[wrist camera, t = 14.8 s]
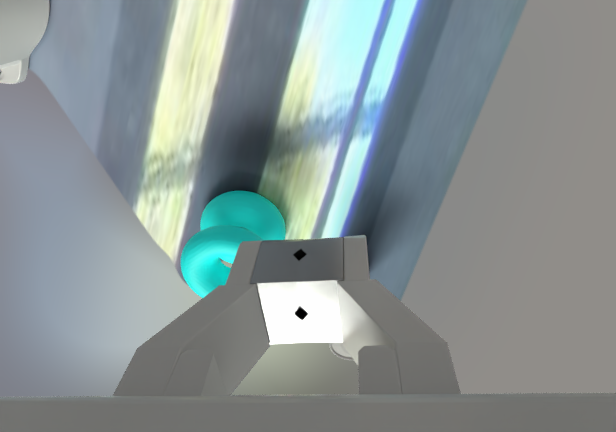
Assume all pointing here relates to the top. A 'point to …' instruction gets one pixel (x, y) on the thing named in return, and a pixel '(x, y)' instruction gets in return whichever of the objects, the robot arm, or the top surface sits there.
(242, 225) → the donuts
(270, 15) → the top surface
